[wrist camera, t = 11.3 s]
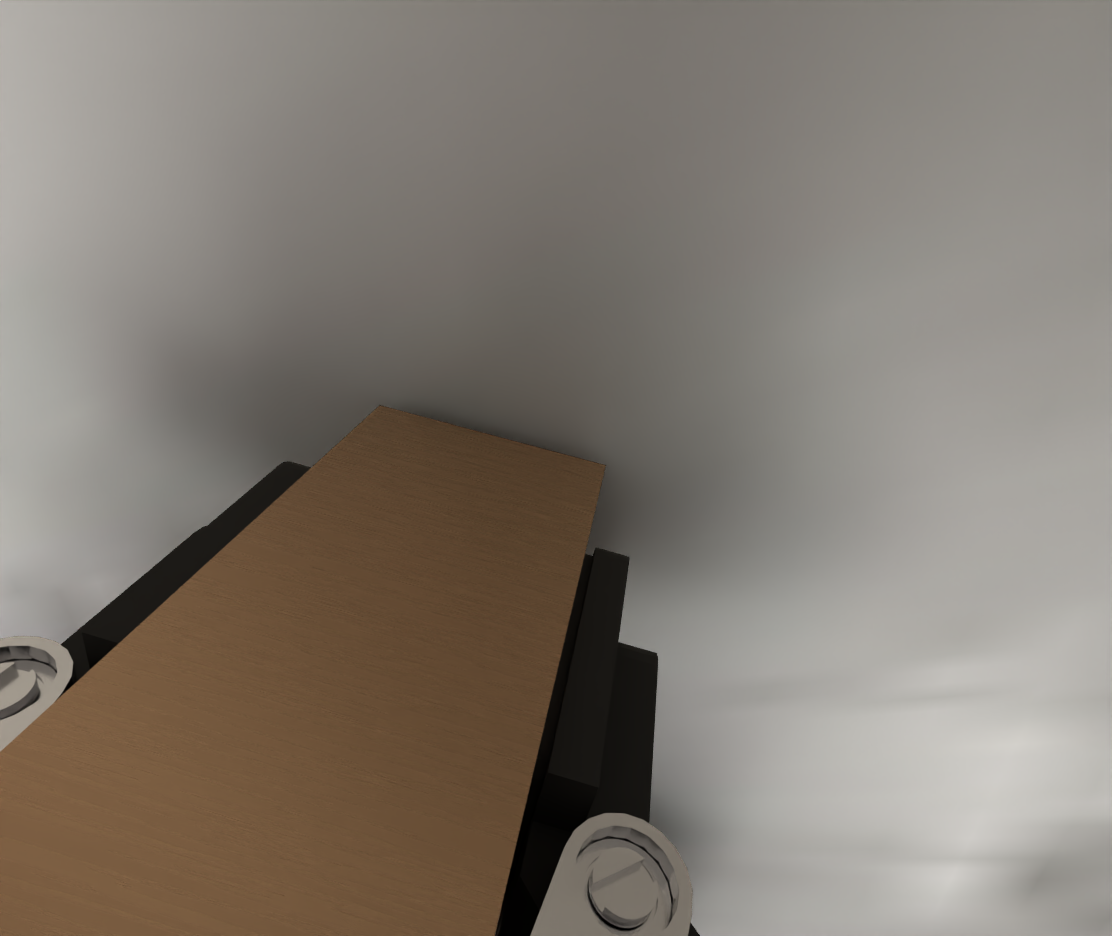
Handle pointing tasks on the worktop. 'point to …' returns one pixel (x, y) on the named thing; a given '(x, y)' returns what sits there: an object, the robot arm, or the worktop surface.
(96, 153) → the worktop surface
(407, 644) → the blade tool
